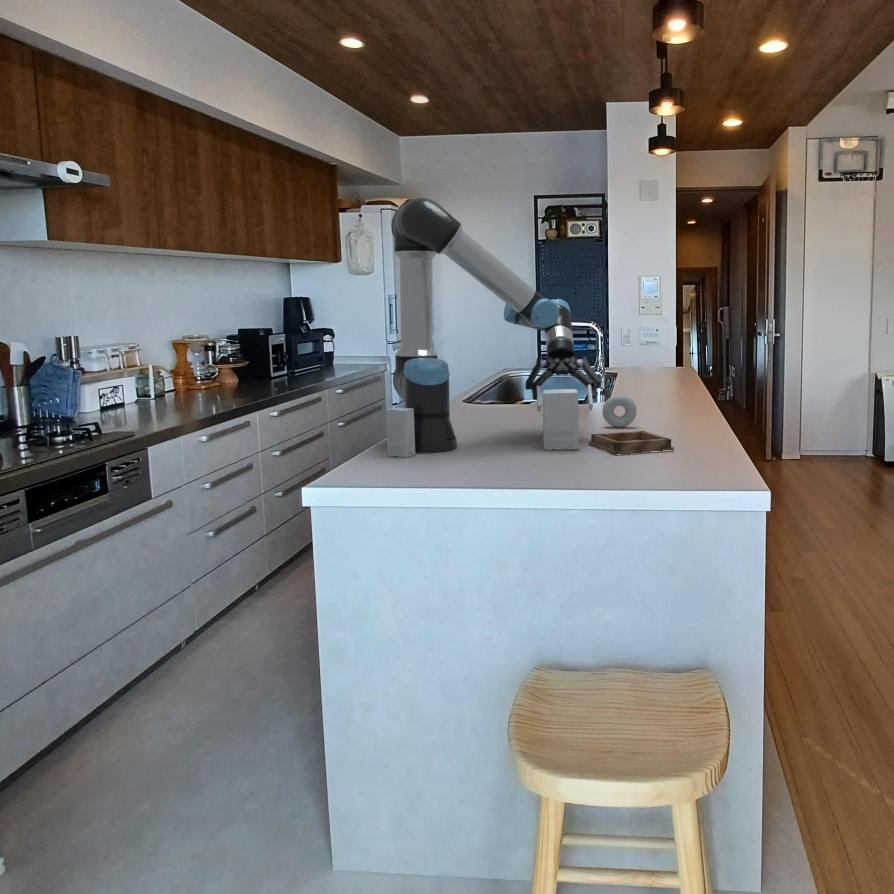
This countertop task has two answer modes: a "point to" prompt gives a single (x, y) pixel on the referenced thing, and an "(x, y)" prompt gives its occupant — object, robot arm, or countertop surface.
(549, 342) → the robot arm
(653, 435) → the holder
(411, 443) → the skincare box
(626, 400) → the donut
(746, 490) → the countertop surface
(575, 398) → the supplement box
